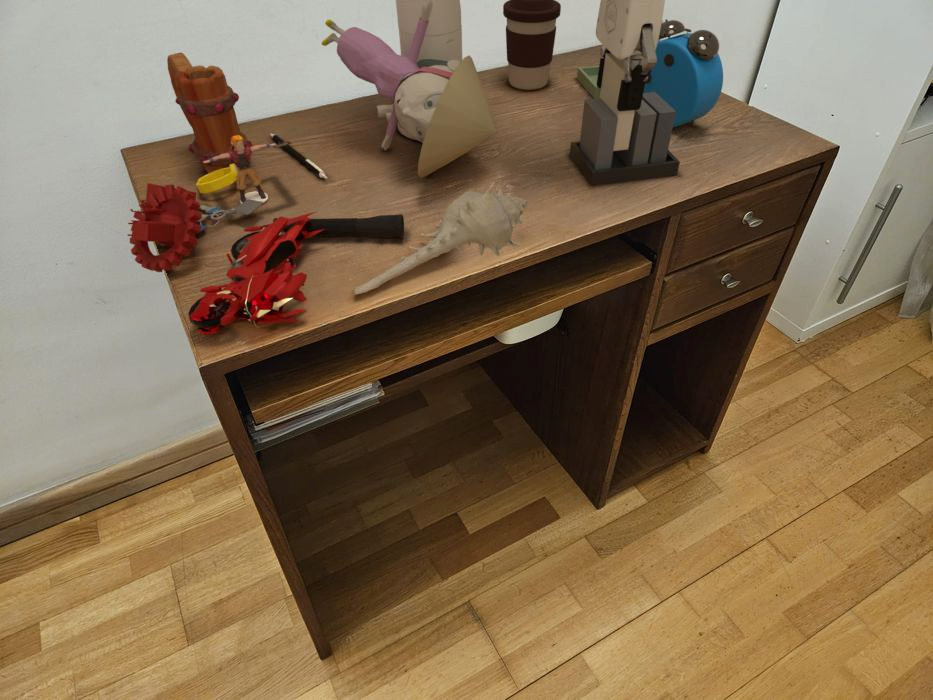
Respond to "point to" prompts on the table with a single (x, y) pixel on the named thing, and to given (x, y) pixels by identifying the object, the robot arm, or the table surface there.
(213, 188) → the yellow curved hollow piece
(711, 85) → the alarm clock
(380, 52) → the figurine
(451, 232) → the seashell
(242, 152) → the action figure
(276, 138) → the pen
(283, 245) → the toy motorcycle
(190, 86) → the mug
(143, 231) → the red toothed ring
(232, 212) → the key chain
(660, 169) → the grey tray
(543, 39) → the coffee cup
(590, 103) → the grey books
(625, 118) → the white box
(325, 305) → the table surface
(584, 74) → the green tray
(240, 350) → the table surface
